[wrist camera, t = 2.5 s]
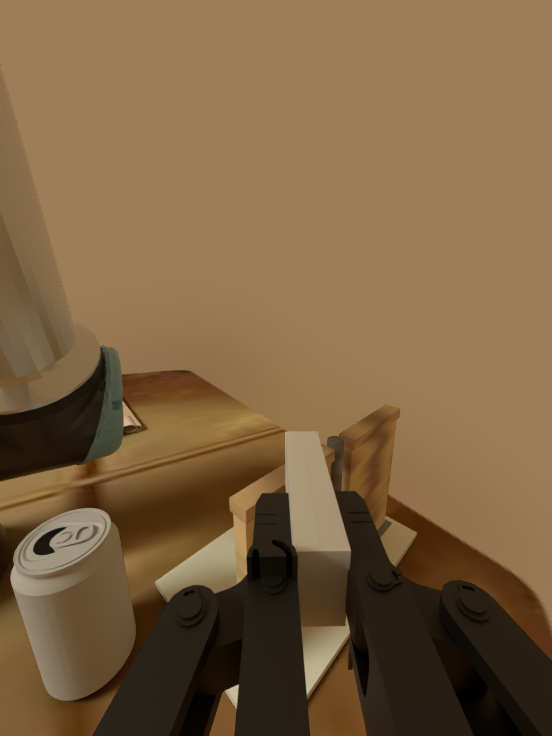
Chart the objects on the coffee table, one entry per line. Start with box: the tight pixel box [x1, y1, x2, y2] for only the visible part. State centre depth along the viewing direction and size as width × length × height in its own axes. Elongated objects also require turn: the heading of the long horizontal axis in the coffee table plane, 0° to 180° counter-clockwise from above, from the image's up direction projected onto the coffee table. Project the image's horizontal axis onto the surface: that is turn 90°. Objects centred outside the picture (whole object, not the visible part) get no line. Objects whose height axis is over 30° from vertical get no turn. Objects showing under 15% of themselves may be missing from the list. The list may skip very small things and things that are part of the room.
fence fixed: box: [339, 405, 400, 530], centre depth 32 cm, size 9×2×15 cm, turn 135°
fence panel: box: [229, 436, 344, 584], centre depth 24 cm, size 11×2×15 cm, turn 135°
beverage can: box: [11, 508, 136, 701], centre depth 23 cm, size 6×6×12 cm
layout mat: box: [155, 515, 417, 709], centre depth 33 cm, size 16×24×1 cm, turn 135°
